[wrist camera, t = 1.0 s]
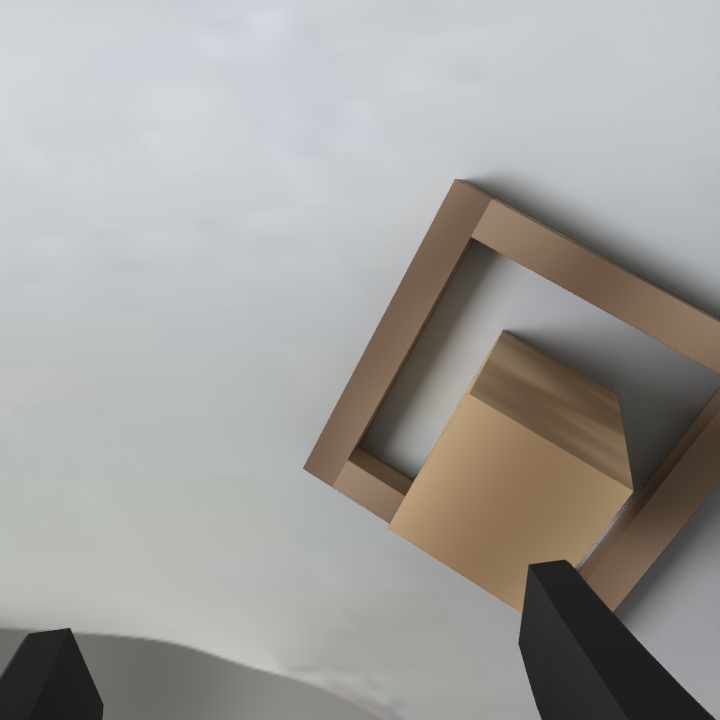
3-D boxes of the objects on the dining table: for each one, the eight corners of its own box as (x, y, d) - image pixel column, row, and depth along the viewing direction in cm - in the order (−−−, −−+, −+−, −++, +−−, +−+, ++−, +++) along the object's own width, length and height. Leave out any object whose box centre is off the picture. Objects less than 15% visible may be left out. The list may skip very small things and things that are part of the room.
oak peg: (618, 395, 21) (633, 491, 14) (548, 494, 22) (534, 621, 16) (503, 329, 22) (469, 394, 15) (442, 429, 23) (387, 528, 16)
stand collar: (796, 360, 19) (809, 371, 18) (584, 624, 23) (584, 647, 22) (461, 179, 21) (455, 179, 20) (315, 455, 25) (303, 468, 23)
